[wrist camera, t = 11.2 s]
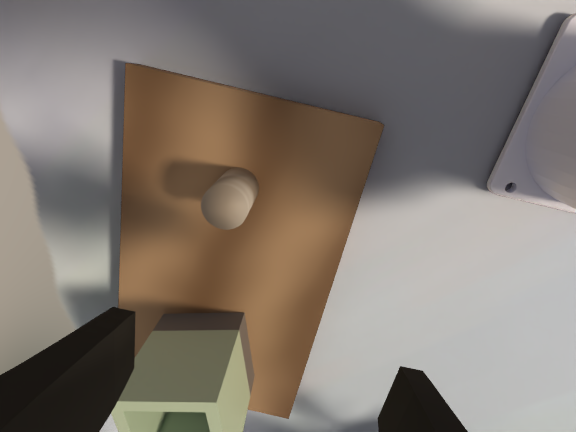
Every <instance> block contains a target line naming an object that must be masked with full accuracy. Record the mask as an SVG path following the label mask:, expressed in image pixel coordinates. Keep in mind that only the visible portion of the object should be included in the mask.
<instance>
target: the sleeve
mask: <svg viewBox="0 0 576 432" xmlns="http://www.w3.org/2000/svg"><path fill="white" fill-rule="evenodd" d="M254 376H255V375H254V369H253V363H252V356H251V350H250V344H249V338H248V331H247V325H246V319H245V312H241V313H181V314H163V315H162V317H161V319H160V320H159V322H158V323H157V325H156V326H155V328H154V329H153V331H152V332H151V334H150V335H149V337H148V338H147V340H146V342H145V343H144V345H143V346H142V348H141V349H140V351H139V352H138V354H137V355H136V357H135V362H134V370H133V372H132V374H131V376H130V378H129V380H128V382H127V384H126V386H125V388H124V390H123V392H122V394H121V396H120V398H119V400H118V402H117V404H116V406H115V407H114V409H113V411H112V412H111V414H112V416H113V419H114V422H115V424H116V427H117V429H118V432H243V429H244V424H245V419H246V414H247V410H248V405H249V400H250V395H251V391H252V386H253V381H254Z"/></svg>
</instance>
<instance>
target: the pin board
mask: <svg viewBox="0 0 576 432" xmlns="http://www.w3.org/2000/svg"><path fill="white" fill-rule="evenodd" d="M383 127H384V125H383V124H382V123H380V122H377V121H373V120H369V119H365V118H361V117H357V116H353V115H348V114H344V113H340V112H336V111H332V110H328V109H323V108H319V107H315V106H311V105H307V104H303V103H298V102H294V101H290V100H286V99H282V98H278V97H274V96H269V95H265V94H261V93H257V92H253V91H249V90H244V89H240V88H236V87H232V86H228V85H224V84H219V83H215V82H211V81H207V80H203V79H199V78H195V77H190V76H186V75H182V74H178V73H174V72H170V71H165V70H161V69H157V68H153V67H149V66H145V65H140V64H132V63H126V65H125V99H124V133H123V167H122V201H121V235H120V270H119V304H118V308H120V309H125V310H130V311H135V312H136V313H135V357H136V355H137V354H138V352H139V351H140V349H141V348H142V346H143V345H144V343H145V342H146V340H147V338H148V337H149V335H150V334H151V332H152V331H153V329H154V328H155V326H156V325H157V323H158V322H159V320H160V319H161V317H162V315H163V314H181V313H241V312H245V319H246V325H247V331H248V338H249V344H250V350H251V356H252V363H253V369H254V375H255V376H254V381H253V386H252V391H251V395H250V400H249V405H248V410H253V411H257V412H261V413H266V414H270V415H274V416H279V417H283V418H287V419H289V416H290V413H291V410H292V406H293V403H294V400H295V397H296V394H297V391H298V388H299V385H300V382H301V379H302V376H303V373H304V370H305V367H306V364H307V360H308V357H309V354H310V351H311V348H312V345H313V342H314V339H315V336H316V333H317V330H318V327H319V324H320V321H321V318H322V314H323V311H324V308H325V305H326V302H327V299H328V296H329V293H330V290H331V287H332V284H333V281H334V278H335V275H336V272H337V269H338V265H339V262H340V259H341V256H342V253H343V250H344V247H345V244H346V241H347V238H348V235H349V232H350V229H351V226H352V223H353V219H354V216H355V213H356V210H357V207H358V204H359V201H360V198H361V195H362V192H363V189H364V186H365V183H366V180H367V177H368V173H369V170H370V167H371V164H372V161H373V158H374V155H375V152H376V149H377V146H378V143H379V140H380V137H381V134H382V131H383Z"/></svg>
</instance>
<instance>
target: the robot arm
mask: <svg viewBox="0 0 576 432" xmlns="http://www.w3.org/2000/svg"><path fill="white" fill-rule="evenodd" d="M509 183H512V187H511V188H510V189H509V190H505V186H506V185H507V184H509ZM487 188H488V190H489V191H490V192H492V193H494V194H496V195H500V196H504V197H509V198H513V199H517V200H521V201H525V202H529V203H534V204H538V205H542V206H546V207H550V208H555V209H559V210H563V211H567V212H571V213H575V214H576V13H575V14H573V15H570V16H569V17H568V18H566V19H565V21H564V22H563V24H562V25H561V28H560V30H559V32H558V34H557V36H556V38H555V40H554V42H553V44H552V46H551V49H550V51H549V53H548V55H547V57H546V59H545V61H544V63H543V65H542V68H541V70H540V72H539V74H538V76H537V78H536V80H535V82H534V84H533V87H532V89H531V91H530V93H529V95H528V97H527V99H526V101H525V103H524V106H523V108H522V110H521V112H520V114H519V116H518V118H517V120H516V122H515V125H514V127H513V129H512V131H511V133H510V135H509V137H508V139H507V141H506V143H505V146H504V148H503V150H502V152H501V154H500V156H499V158H498V160H497V162H496V165H495V167H494V169H493V171H492V173H491V175H490V177H489V179H488V182H487ZM135 313H136V312H135V311H130V310H125V309H120V308H116V307H112V308H111V309H109V310H107V311H106V312H104V313H102V314H101V315H99V316H98V317H96V318H94V319H93V320H91V321H90V322H88V323H86V324H85V325H83V326H82V327H80V328H78V329H77V330H75V331H74V332H72V333H70V334H69V335H67V336H66V337H64V338H62V339H61V340H59V341H58V342H56V343H54V344H53V345H51V346H49V347H48V348H46V349H45V350H43V351H41V352H39V353H38V354H36V355H34V356H33V357H31V358H29V359H28V360H26V361H24V362H23V363H21V364H19V365H18V366H16V367H14V368H13V369H11V370H9V371H7V372H5V373H3V374H2V375H0V432H99V431H100V430H101V428H102V426H103V425H104V423H105V422H106V420H107V419H108V417H109V415H110V414H111V412H112V411H113V409H114V407H115V406H116V404H117V402H118V400H119V398H120V396H121V394H122V392H123V390H124V388H125V386H126V384H127V382H128V380H129V378H130V376H131V374H132V372H133V370H134V362H135ZM378 427H379V432H468V431H467V430H466V429H465V427H464V426H463V425H462V423H461V422H460V421H459V419H458V418H457V417H456V415H455V414H454V413H453V411H452V410H451V408H450V407H449V406H448V404H447V403H446V402H445V400H444V399H443V397H442V396H441V395H440V393H439V392H438V391H437V389H436V388H435V387H434V385H433V384H432V382H431V381H430V380H429V378H428V377H427V376H426V375H425V373H424V372H423V371H421V370H416V369H411V368H406V367H401V366H400V368H399V370H398V373H397V375H396V377H395V380H394V382H393V384H392V387H391V389H390V391H389V394H388V396H387V398H386V401H385V403H384V405H383V408H382V410H381V412H380V415H379V417H378Z"/></svg>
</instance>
